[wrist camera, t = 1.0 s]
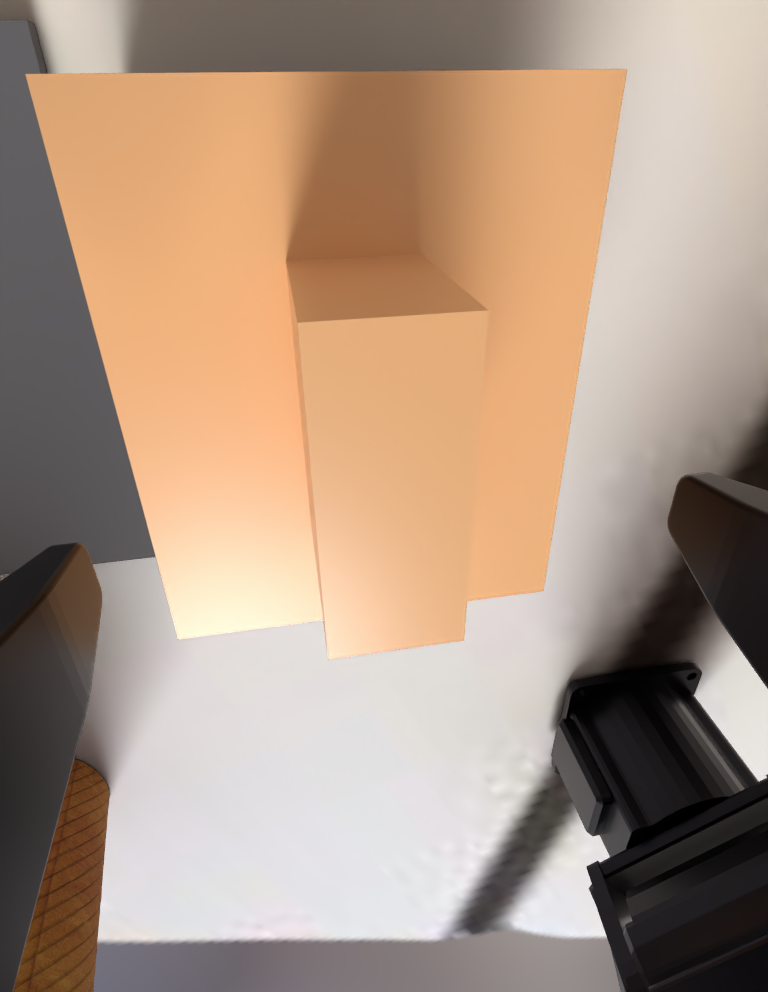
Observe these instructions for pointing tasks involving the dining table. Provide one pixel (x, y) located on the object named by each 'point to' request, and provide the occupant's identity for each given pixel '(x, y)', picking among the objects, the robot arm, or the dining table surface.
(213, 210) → the lid
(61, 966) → the disposable coffee cup
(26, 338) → the mat
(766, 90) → the dining table surface
